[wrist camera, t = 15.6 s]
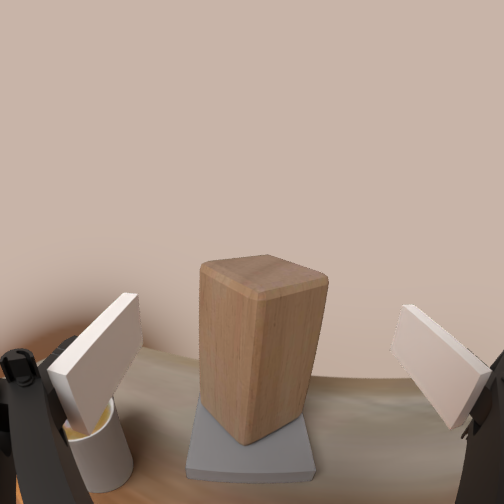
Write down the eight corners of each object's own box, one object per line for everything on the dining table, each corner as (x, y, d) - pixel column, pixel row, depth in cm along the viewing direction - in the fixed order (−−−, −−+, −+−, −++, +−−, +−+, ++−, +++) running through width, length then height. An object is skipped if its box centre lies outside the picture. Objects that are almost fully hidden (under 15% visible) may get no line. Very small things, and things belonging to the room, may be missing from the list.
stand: (295, 407, 37) (298, 395, 37) (311, 480, 24) (316, 470, 23) (200, 403, 37) (200, 391, 36) (187, 478, 23) (185, 467, 23)
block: (197, 403, 34) (196, 259, 29) (255, 381, 40) (268, 252, 35) (242, 451, 26) (257, 290, 22) (303, 417, 32) (334, 273, 28)
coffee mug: (109, 506, 16) (77, 458, 14) (44, 465, 18) (9, 408, 16) (158, 434, 29) (147, 378, 27) (98, 409, 31) (82, 353, 29)
